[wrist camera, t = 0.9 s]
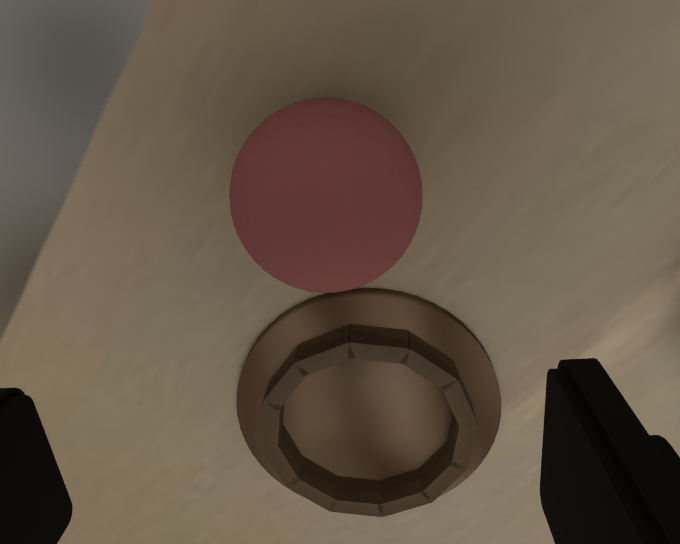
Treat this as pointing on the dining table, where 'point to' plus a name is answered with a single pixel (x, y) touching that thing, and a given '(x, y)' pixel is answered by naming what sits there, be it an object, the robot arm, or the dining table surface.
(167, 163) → the dining table surface
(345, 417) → the holder
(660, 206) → the dining table surface
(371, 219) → the light bulb
